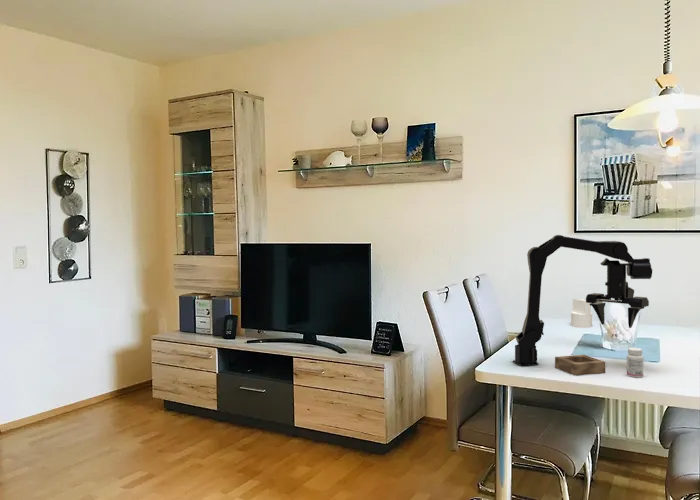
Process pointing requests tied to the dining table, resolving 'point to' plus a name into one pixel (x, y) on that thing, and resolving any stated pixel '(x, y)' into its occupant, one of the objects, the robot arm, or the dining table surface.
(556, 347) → the dining table surface
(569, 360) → the socket block
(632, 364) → the pill bottle
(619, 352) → the dining table surface
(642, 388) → the dining table surface
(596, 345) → the dining table surface
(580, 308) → the base with upright slab
